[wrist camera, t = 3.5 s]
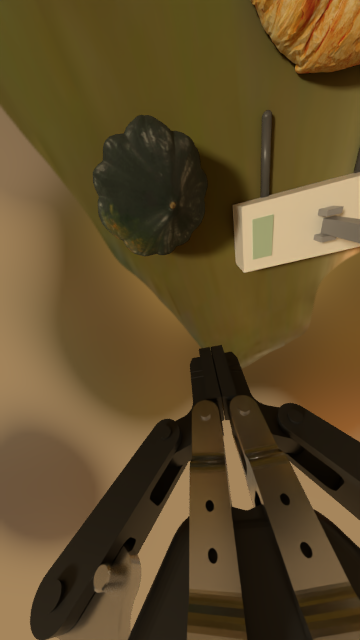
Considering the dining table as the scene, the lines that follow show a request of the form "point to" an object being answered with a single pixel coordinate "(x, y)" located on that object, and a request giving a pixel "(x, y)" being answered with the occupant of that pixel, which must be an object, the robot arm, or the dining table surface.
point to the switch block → (292, 216)
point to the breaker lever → (342, 228)
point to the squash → (150, 187)
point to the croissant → (314, 32)
